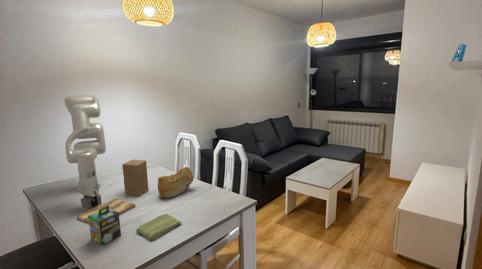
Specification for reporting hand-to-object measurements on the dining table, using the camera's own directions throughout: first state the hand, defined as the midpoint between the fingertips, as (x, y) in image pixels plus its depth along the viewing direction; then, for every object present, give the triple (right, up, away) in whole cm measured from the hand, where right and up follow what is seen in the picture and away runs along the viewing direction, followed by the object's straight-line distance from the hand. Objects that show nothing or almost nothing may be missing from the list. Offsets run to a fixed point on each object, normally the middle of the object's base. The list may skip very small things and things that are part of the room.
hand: (91, 204), depth 138 cm
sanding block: (0, -1, 0) cm, 1 cm away
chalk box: (+23, -7, -27) cm, 36 cm away
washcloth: (+44, -6, -20) cm, 49 cm away
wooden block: (+17, +2, +19) cm, 26 cm away
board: (+12, -2, -6) cm, 13 cm away
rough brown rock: (+40, +2, +20) cm, 45 cm away
